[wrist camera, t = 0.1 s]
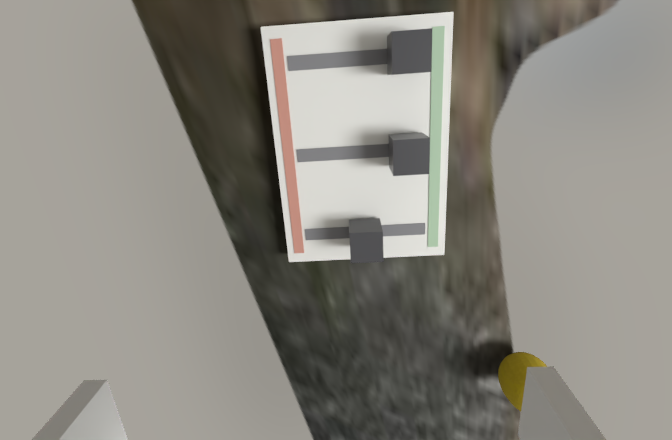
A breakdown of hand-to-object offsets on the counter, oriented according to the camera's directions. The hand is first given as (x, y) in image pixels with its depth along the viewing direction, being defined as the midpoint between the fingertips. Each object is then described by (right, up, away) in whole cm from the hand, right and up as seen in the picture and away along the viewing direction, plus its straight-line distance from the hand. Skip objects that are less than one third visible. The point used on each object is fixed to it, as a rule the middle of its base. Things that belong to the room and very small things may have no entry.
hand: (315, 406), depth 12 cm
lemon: (+22, -10, +33) cm, 41 cm away
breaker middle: (+7, +12, +22) cm, 27 cm away
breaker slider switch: (+4, +5, +25) cm, 26 cm away
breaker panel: (+3, +13, +25) cm, 28 cm away
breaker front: (+6, +20, +20) cm, 29 cm away
